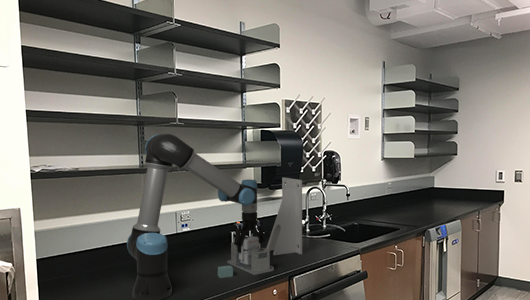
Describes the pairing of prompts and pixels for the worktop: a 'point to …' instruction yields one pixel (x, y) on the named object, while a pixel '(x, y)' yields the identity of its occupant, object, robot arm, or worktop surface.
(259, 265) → the box holder
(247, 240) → the ink box
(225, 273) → the block
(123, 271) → the worktop surface
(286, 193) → the grey mounting bracket
